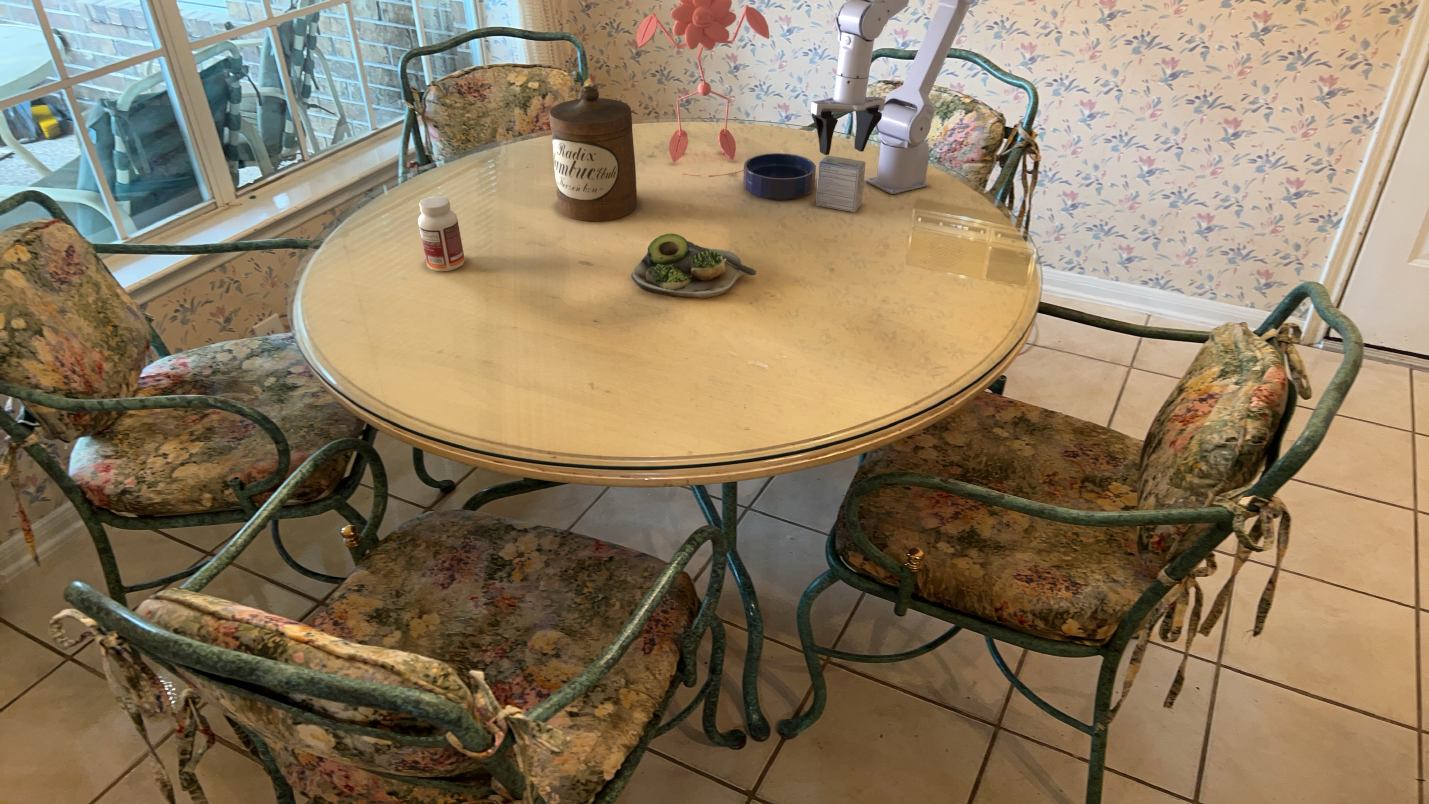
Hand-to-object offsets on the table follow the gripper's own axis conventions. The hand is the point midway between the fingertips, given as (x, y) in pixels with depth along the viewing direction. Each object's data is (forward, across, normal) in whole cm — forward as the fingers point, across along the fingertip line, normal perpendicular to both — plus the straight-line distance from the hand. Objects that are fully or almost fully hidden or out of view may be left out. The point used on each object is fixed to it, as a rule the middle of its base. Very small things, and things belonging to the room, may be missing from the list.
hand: (841, 151), depth 165 cm
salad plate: (+14, -37, -13) cm, 42 cm away
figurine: (+11, -13, +30) cm, 35 cm away
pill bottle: (+16, -71, +8) cm, 73 cm away
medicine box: (+11, +1, 0) cm, 11 cm away
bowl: (+11, -5, +13) cm, 17 cm away
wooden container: (+13, -40, +20) cm, 47 cm away
